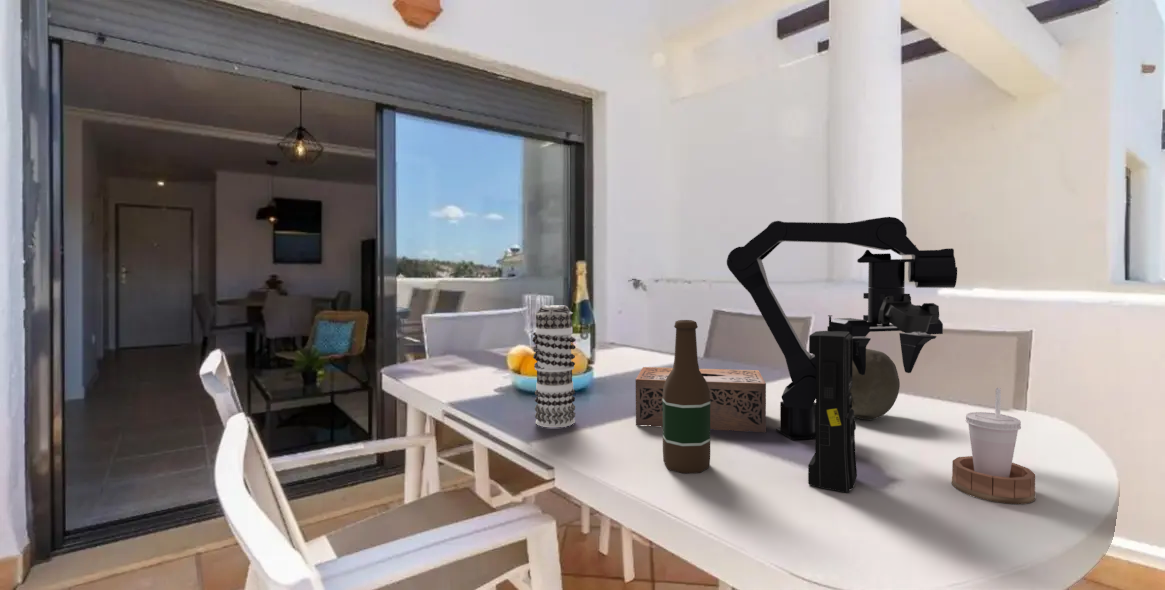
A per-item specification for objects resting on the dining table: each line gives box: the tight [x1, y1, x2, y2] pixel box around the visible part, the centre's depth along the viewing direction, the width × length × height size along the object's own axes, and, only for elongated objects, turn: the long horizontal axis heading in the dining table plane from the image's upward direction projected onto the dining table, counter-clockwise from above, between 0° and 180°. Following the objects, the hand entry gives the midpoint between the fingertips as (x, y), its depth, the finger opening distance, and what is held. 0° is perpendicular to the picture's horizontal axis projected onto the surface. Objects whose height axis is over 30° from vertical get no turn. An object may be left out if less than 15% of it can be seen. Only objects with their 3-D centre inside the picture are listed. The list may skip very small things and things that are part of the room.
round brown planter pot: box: [951, 455, 1036, 505], centre depth 77 cm, size 10×10×3 cm
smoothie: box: [965, 387, 1022, 478], centre depth 78 cm, size 6×6×14 cm
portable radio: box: [807, 314, 858, 494], centre depth 80 cm, size 8×6×25 cm
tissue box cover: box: [635, 366, 767, 433], centre depth 116 cm, size 26×14×10 cm, turn 77°
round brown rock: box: [850, 348, 901, 421], centre depth 116 cm, size 14×14×15 cm
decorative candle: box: [531, 304, 576, 428], centre depth 114 cm, size 9×9×25 cm
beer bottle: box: [662, 319, 711, 474], centre depth 88 cm, size 8×8×24 cm
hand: (885, 373), depth 98 cm, fingers open, 9 cm apart
